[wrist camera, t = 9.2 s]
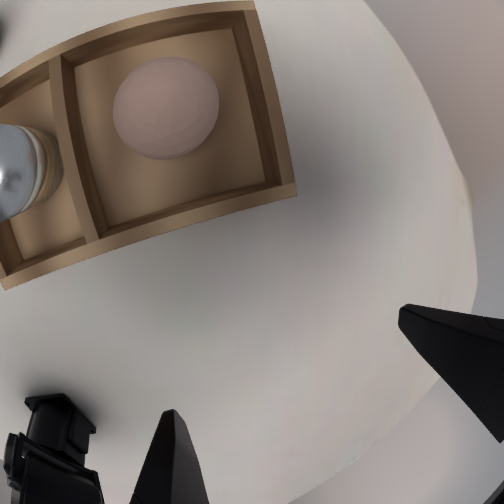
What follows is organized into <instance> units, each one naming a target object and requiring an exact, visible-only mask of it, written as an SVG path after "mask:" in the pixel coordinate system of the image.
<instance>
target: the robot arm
mask: <svg viewBox="0 0 504 504" xmlns="http://www.w3.org/2000/svg"><path fill="white" fill-rule="evenodd" d="M398 326H399V328H400V330H401V331H402V332H403V334H404V335H405V336H406V337H407V339H408V340H409V341H410V343H411V344H412V345H413V346H414V348H415V349H416V350H417V352H418V353H419V354H420V355H421V356H422V357H423V358H424V359H425V360H426V361H427V362H428V364H429V365H430V366H431V367H432V368H433V369H434V370H435V371H436V372H437V373H438V374H439V375H440V376H441V377H442V378H443V379H444V380H445V382H446V383H447V384H448V385H449V386H450V387H451V388H452V389H453V390H454V391H455V392H456V394H457V395H458V396H459V397H460V398H461V399H462V400H463V401H464V402H465V404H466V405H467V406H468V407H469V408H470V409H471V410H472V411H473V413H474V414H476V416H477V417H478V418H479V420H480V421H481V422H482V423H483V424H484V425H485V427H486V428H487V429H488V430H489V431H490V433H491V434H492V435H493V436H494V437H495V439H496V440H497V441H498V442H499V443H501V442H502V441H503V440H504V319H497V318H490V317H483V316H477V315H471V314H465V313H459V312H453V311H448V310H442V309H436V308H430V307H425V306H419V305H413V304H406V305H404V306H403V307H401V308H400V310H399V318H398ZM24 403H25V404H26V405H27V407H28V408H29V409H30V410H31V411H32V415H31V418H30V422H29V426H28V429H27V433H26V436H25V434H23V433H21V432H19V433H18V435H16V434H12V433H9V435H8V439H7V443H6V447H5V453H4V463H3V468H4V470H5V472H6V476H7V485H8V486H10V487H11V488H12V495H11V504H105V503H104V498H103V494H102V490H101V486H100V482H99V477H98V472H96V471H94V470H89V469H87V468H85V467H84V464H85V454H87V453H88V446H89V435H90V434H95V433H96V428H95V427H94V426H93V425H92V424H91V423H90V422H89V421H88V420H87V419H86V418H85V417H84V416H83V415H82V413H81V412H80V411H79V410H78V409H77V408H76V407H75V406H74V405H73V403H72V402H71V401H70V400H69V399H68V398H67V397H66V396H65V395H64V394H57V395H50V396H42V397H33V398H26V399H25V401H24ZM22 456H23V457H25V458H23V457H22ZM129 504H209V501H208V497H207V493H206V489H205V485H204V481H203V477H202V473H201V469H200V465H199V461H198V458H197V455H196V452H195V450H194V447H193V444H192V441H191V438H190V435H189V432H188V429H187V426H186V423H185V422H184V420H183V419H182V418H181V416H180V415H179V414H178V413H177V411H176V410H174V409H171V410H167V411H164V412H163V413H162V415H161V418H160V421H159V423H158V426H157V429H156V431H155V434H154V437H153V439H152V442H151V445H150V448H149V450H148V453H147V456H146V459H145V461H144V464H143V467H142V470H141V472H140V475H139V478H138V481H137V484H136V487H135V489H134V493H133V495H132V498H131V501H130V503H129ZM483 504H504V481H503V482H502V483H501V485H500V486H499V487H498V488H497V489H496V490H495V491H494V492H493V494H492V495H491V496H490V497H489V498H488V499H487V500H486V501H485V502H484V503H483Z"/></svg>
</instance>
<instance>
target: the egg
mask: <svg viewBox="0 0 504 504" xmlns="http://www.w3.org/2000/svg"><path fill="white" fill-rule="evenodd" d="M218 111H219V94H218V91H217V87H216V84H215V83H214V81H213V79H212V77H211V76H210V75H209V74H208V72H207V71H206V70H205V69H204V68H203V67H201V66H200V65H198V64H196V63H195V62H193V61H191V60H188V59H184V58H181V57H160V58H156V59H153V60H150V61H148V62H145V63H143V64H142V65H140V66H139V67H137V68H135V69H134V70H133V71H132V72H130V73H129V74H128V76H127V77H126V78H125V79H124V81H123V82H122V83H121V85H120V86H119V89H118V91H117V93H116V96H115V98H114V106H113V121H114V125H115V128H116V131H117V133H118V135H119V137H120V138H121V139H122V141H123V142H124V143H125V145H127V146H128V147H129V148H130V149H132V150H133V151H134V152H135V153H137V154H140V155H142V156H144V157H147V158H151V159H157V160H164V159H172V158H176V157H179V156H183V155H185V154H187V153H189V152H191V151H193V150H194V149H195V148H197V147H198V146H199V145H200V144H201V143H202V142H203V141H204V140H205V139H206V138H207V136H208V135H209V134H210V132H211V131H212V130H213V127H214V125H215V122H216V120H217V118H218Z"/></svg>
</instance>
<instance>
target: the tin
mask: <svg viewBox="0 0 504 504" xmlns="http://www.w3.org/2000/svg"><path fill="white" fill-rule="evenodd" d="M63 174H64V166H63V162H62V158H61V153H60V148H59V143H58V140H57V138H56V137H55V136H53V135H52V134H51V133H49V132H46V131H41V130H37V129H34V128H29V127H23V126H17V125H4V124H0V222H2V221H4V220H6V219H9V218H12V217H14V216H17V215H19V214H21V213H23V212H25V211H27V210H29V209H32V208H33V207H35V206H37V205H39V204H41V203H43V202H45V201H47V200H48V199H49V198H51V197H52V196H53V194H54V193H55V192H56V190H57V189H58V187H59V185H60V183H61V181H62V178H63Z"/></svg>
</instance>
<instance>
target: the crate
mask: <svg viewBox="0 0 504 504" xmlns="http://www.w3.org/2000/svg"><path fill="white" fill-rule="evenodd" d="M160 57H181V58H184V59H188V60H191V61H193V62H195V63H196V64H198V65H200V66H201V67H203V68H204V69H205V70H206V71H207V72H208V74H209V75H210V76H211V77H212V79H213V81H214V83H215V84H216V87H217V91H218V94H219V111H218V118H217V120H216V122H215V125H214V127H213V130H212V131H211V132H210V134H209V135H208V136H207V138H206V139H205V140H204V141H203V142H202V143H201V144H200V145H199V146H198V147H197V148H195V149H194V150H193V151H191V152H189V153H187V154H185V155H183V156H179V157H176V158H172V159H164V160H157V159H151V158H147V157H144V156H142V155H140V154H137V153H135V152H134V151H133V150H132V149H130V148H129V147H128V146H127V145H125V143H124V142H123V141H122V139H121V138H120V137H119V135H118V133H117V131H116V128H115V125H114V121H113V106H114V98H115V96H116V93H117V91H118V89H119V86H120V85H121V83H122V82H123V81H124V79H125V78H126V77H127V76H128V74H129V73H130V72H132V71H133V70H134V69H135V68H137V67H139V66H140V65H142V64H143V63H145V62H148V61H150V60H153V59H156V58H160ZM0 124H4V125H17V126H23V127H29V128H34V129H37V130H41V131H46V132H49V133H51V134H52V135H53V136H55V137H56V138H57V140H58V143H59V148H60V153H61V158H62V162H63V166H64V174H63V178H62V181H61V183H60V185H59V187H58V189H57V190H56V192H55V193H54V194H53V196H52V197H51V198H49V199H48V200H47V201H45V202H43V203H41V204H39V205H37V206H35V207H33V208H32V209H29V210H27V211H25V212H23V213H21V214H19V215H17V216H14V217H12V218H9V219H6V220H4V221H2V222H0V282H1V284H2V286H3V288H4V290H8V289H10V288H12V287H15V286H17V285H20V284H22V283H25V282H27V281H30V280H32V279H35V278H37V277H40V276H43V275H45V274H48V273H50V272H53V271H56V270H58V269H61V268H64V267H66V266H69V265H72V264H75V263H77V262H80V261H83V260H86V259H88V258H91V257H94V256H97V255H100V254H103V253H106V252H108V251H111V250H114V249H117V248H120V247H123V246H126V245H129V244H132V243H135V242H138V241H141V240H144V239H147V238H151V237H154V236H157V235H160V234H163V233H166V232H170V231H173V230H176V229H179V228H183V227H186V226H189V225H192V224H196V223H199V222H203V221H206V220H209V219H213V218H216V217H220V216H223V215H227V214H230V213H234V212H237V211H241V210H245V209H248V208H252V207H256V206H259V205H263V204H267V203H271V202H274V201H278V200H282V199H286V198H290V197H294V196H297V192H296V186H295V180H294V174H293V168H292V163H291V157H290V152H289V147H288V142H287V136H286V131H285V126H284V121H283V117H282V112H281V107H280V103H279V98H278V94H277V89H276V85H275V80H274V76H273V72H272V68H271V64H270V60H269V56H268V52H267V48H266V44H265V40H264V36H263V32H262V29H261V25H260V22H259V18H258V14H257V11H256V8H255V4H254V1H226V2H213V3H203V4H195V5H188V6H181V7H175V8H170V9H164V10H160V11H155V12H150V13H146V14H142V15H138V16H134V17H131V18H127V19H124V20H120V21H117V22H114V23H111V24H108V25H105V26H102V27H99V28H96V29H94V30H91V31H88V32H86V33H83V34H81V35H78V36H76V37H74V38H71V39H69V40H67V41H65V42H62V43H60V44H58V45H56V46H54V47H52V48H50V49H48V50H46V51H44V52H42V53H40V54H38V55H37V56H35V57H33V58H31V59H29V60H28V61H26V62H24V63H23V64H21V65H19V66H18V67H16V68H14V69H13V70H11V71H10V72H8V73H7V74H5V75H4V76H2V77H1V78H0Z"/></svg>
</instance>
